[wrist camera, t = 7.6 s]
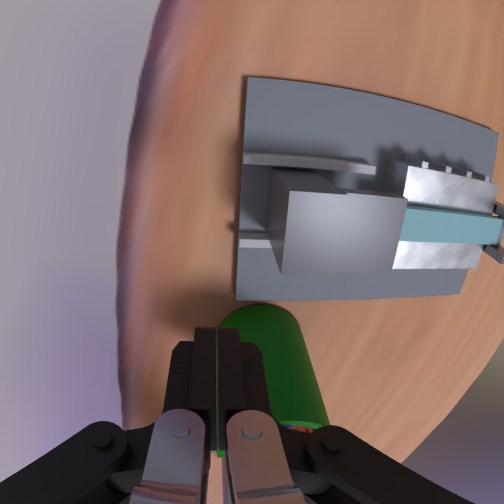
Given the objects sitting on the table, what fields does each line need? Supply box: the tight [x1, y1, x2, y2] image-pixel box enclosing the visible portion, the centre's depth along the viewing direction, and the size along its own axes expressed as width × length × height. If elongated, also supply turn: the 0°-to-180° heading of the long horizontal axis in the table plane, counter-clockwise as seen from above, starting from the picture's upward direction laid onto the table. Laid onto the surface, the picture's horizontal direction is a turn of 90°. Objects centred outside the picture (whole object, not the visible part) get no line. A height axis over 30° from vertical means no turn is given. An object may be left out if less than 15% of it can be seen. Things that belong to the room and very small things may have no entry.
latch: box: [266, 167, 408, 275], centre depth 26 cm, size 6×9×9 cm, turn 86°
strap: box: [399, 206, 504, 247], centre depth 27 cm, size 3×17×1 cm, turn 86°
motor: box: [216, 304, 330, 457], centre depth 28 cm, size 10×9×20 cm
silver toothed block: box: [383, 155, 504, 269], centre depth 28 cm, size 11×16×7 cm
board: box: [235, 77, 498, 301], centre depth 30 cm, size 22×30×3 cm
